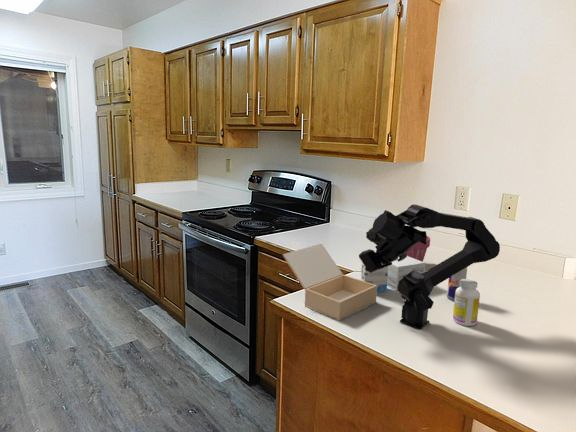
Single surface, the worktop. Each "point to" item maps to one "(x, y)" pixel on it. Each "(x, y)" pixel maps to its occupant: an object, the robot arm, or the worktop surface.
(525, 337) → the worktop surface
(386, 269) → the ink box
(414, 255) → the plant pot
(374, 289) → the mailer box
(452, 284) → the energy drink
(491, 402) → the worktop surface
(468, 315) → the supplement bottle
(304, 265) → the mailer lid
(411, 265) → the supplement box
